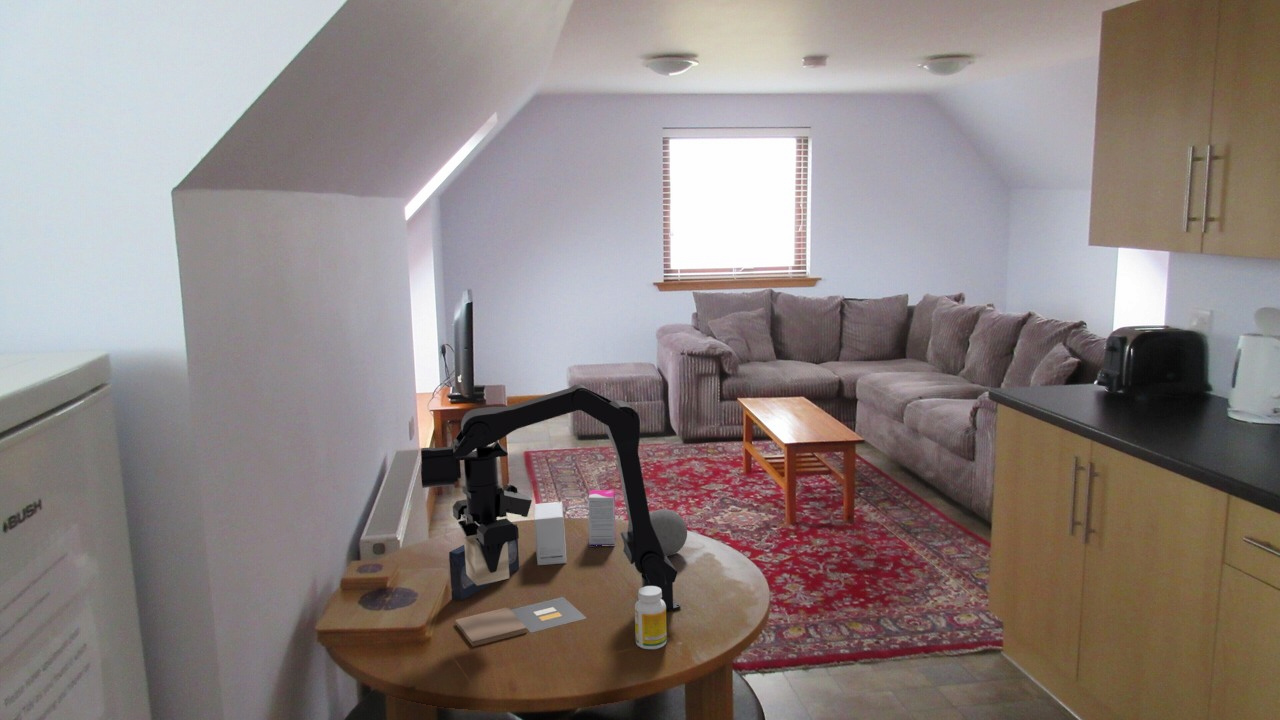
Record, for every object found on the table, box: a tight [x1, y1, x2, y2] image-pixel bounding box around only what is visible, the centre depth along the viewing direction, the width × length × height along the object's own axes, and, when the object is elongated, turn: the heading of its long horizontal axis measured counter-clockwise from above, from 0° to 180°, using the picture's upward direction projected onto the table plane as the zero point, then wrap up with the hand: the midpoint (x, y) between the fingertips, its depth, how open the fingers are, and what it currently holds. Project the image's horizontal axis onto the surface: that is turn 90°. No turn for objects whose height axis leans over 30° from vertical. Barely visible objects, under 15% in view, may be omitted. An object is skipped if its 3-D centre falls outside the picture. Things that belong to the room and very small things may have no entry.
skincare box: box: [533, 501, 567, 566], centre depth 197 cm, size 10×6×10 cm, turn 6°
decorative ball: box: [649, 508, 688, 557], centre depth 196 cm, size 10×10×10 cm
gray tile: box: [510, 596, 587, 634], centre depth 169 cm, size 11×11×1 cm
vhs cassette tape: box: [448, 523, 520, 602], centre depth 183 cm, size 18×3×10 cm, turn 148°
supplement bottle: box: [634, 586, 668, 650], centre depth 156 cm, size 5×5×10 cm
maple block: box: [463, 535, 510, 586], centre depth 162 cm, size 6×6×7 cm
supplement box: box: [588, 489, 616, 546], centre depth 204 cm, size 6×6×12 cm
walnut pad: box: [455, 606, 528, 647], centre depth 164 cm, size 10×10×1 cm
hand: (487, 566), depth 162 cm, fingers closed on maple block, 6 cm apart
